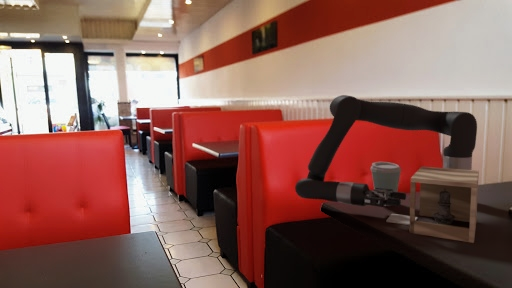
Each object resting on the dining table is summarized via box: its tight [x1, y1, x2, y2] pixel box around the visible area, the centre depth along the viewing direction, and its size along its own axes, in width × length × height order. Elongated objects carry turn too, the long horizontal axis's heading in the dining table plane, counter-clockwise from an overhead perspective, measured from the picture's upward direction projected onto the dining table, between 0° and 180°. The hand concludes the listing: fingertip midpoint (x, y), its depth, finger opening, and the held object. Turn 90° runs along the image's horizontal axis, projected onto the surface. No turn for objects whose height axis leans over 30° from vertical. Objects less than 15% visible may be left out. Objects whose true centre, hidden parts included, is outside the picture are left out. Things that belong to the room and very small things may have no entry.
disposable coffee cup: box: [370, 161, 402, 207], centre depth 136 cm, size 11×11×15 cm
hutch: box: [408, 166, 480, 244], centre depth 111 cm, size 19×16×16 cm
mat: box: [386, 213, 419, 226], centre depth 119 cm, size 8×8×1 cm
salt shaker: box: [433, 189, 455, 225], centre depth 111 cm, size 6×6×12 cm
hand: (403, 199), depth 117 cm, fingers open, 8 cm apart
